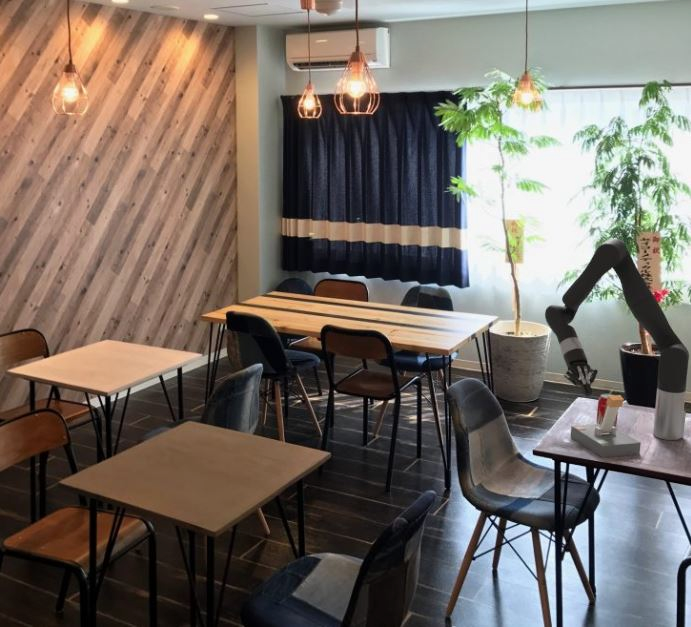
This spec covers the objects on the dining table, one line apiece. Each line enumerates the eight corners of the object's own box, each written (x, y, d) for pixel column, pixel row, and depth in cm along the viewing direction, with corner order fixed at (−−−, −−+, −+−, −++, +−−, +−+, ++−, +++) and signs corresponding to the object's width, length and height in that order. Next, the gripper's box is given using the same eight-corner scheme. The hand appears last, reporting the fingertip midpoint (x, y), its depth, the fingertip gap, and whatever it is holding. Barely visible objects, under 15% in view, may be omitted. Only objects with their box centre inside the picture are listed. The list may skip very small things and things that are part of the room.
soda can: (600, 422, 298) (603, 391, 295) (619, 427, 293) (622, 395, 291) (592, 427, 292) (595, 396, 290) (611, 432, 288) (614, 400, 286)
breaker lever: (608, 429, 276) (620, 395, 268) (612, 434, 274) (624, 399, 266) (597, 430, 275) (608, 395, 267) (600, 435, 273) (612, 400, 265)
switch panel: (605, 433, 286) (607, 416, 285) (639, 454, 267) (641, 435, 266) (570, 436, 283) (571, 419, 281) (602, 457, 264) (603, 439, 262)
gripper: (561, 348, 287) (576, 391, 278) (593, 346, 291) (610, 388, 281) (552, 359, 293) (567, 401, 284) (584, 357, 297) (600, 398, 288)
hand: (589, 395), depth 283 cm, fingers closed
